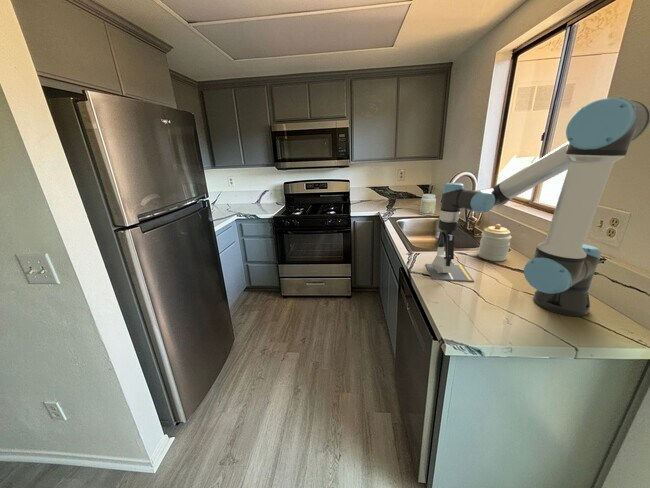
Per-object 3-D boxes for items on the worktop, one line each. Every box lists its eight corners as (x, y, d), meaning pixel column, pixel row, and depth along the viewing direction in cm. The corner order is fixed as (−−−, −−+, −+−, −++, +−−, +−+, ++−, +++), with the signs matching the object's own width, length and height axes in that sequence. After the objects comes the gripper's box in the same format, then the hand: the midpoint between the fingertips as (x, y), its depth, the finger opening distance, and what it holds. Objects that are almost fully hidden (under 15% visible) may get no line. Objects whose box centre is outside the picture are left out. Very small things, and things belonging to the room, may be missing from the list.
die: (447, 268, 126) (435, 252, 126) (461, 266, 118) (448, 248, 118) (436, 278, 123) (424, 261, 123) (450, 276, 115) (438, 258, 115)
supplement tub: (424, 212, 237) (426, 193, 232) (437, 214, 229) (439, 194, 223) (416, 214, 230) (418, 194, 224) (429, 216, 221) (432, 196, 216)
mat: (474, 282, 113) (474, 280, 113) (431, 279, 116) (431, 278, 116) (463, 266, 128) (463, 265, 127) (425, 264, 131) (425, 263, 131)
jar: (512, 261, 132) (520, 227, 126) (486, 262, 132) (492, 227, 126) (497, 252, 144) (503, 220, 138) (472, 252, 145) (478, 220, 139)
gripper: (467, 228, 101) (459, 278, 108) (450, 213, 124) (445, 255, 131) (446, 228, 102) (439, 277, 109) (433, 213, 125) (429, 255, 133)
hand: (442, 265), depth 120 cm, fingers open, 13 cm apart
